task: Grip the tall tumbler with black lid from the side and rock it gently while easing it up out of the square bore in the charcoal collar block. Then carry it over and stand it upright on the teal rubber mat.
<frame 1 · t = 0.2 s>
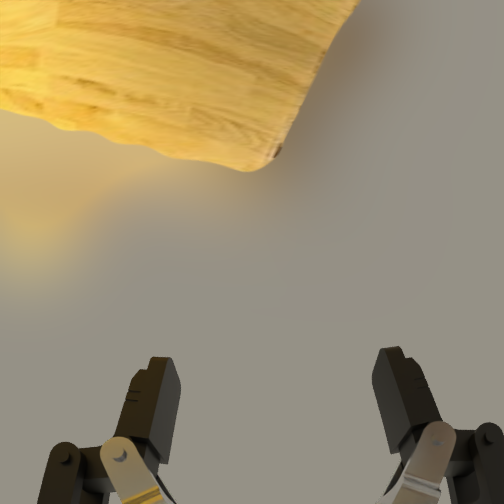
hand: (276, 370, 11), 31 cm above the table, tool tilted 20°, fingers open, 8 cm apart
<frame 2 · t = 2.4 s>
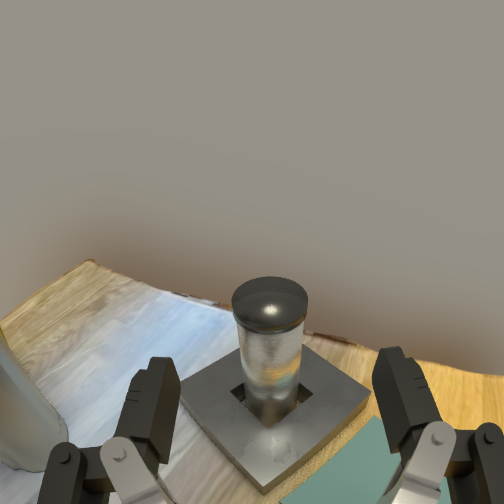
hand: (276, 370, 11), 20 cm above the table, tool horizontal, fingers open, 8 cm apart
rubber mat: (382, 496, 20), on the table
collar block: (271, 408, 30), on the table
tumbler with black lid: (271, 408, 30), resting in collar block
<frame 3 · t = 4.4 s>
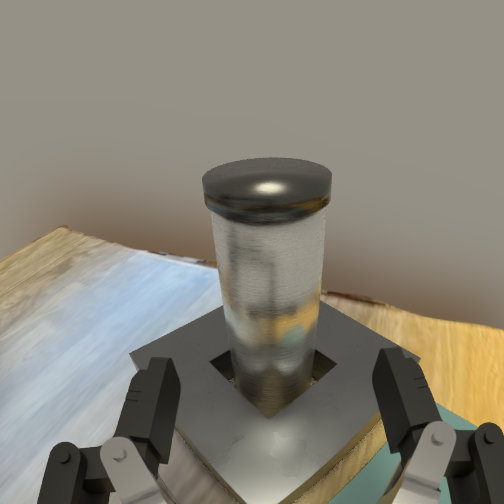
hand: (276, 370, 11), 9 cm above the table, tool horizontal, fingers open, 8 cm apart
collar block: (273, 390, 21), on the table
tumbler with black lid: (273, 391, 21), resting in collar block
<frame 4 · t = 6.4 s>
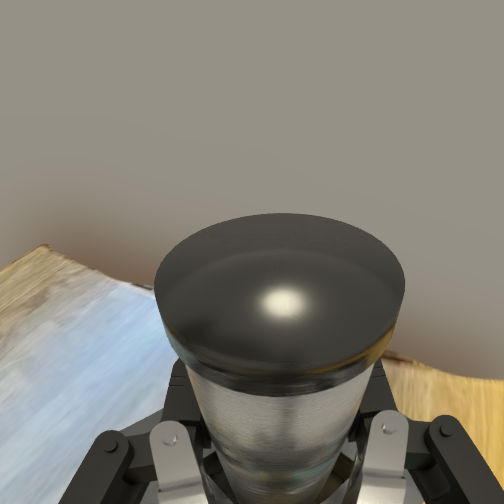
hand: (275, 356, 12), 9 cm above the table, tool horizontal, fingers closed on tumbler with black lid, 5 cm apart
collar block: (278, 484, 14), on the table
tumbler with black lid: (277, 484, 14), resting in collar block, touching gripper
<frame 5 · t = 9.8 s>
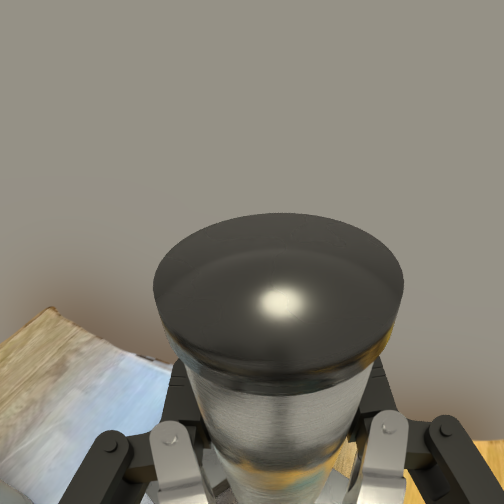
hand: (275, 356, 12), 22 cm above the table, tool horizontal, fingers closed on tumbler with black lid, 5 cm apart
tumbler with black lid: (277, 484, 14), point 13 cm above the table, touching gripper
when the fingers open (11 cm above the table, at t = 13.3 s): tumbler with black lid drops 1 cm, resting on rubber mat.
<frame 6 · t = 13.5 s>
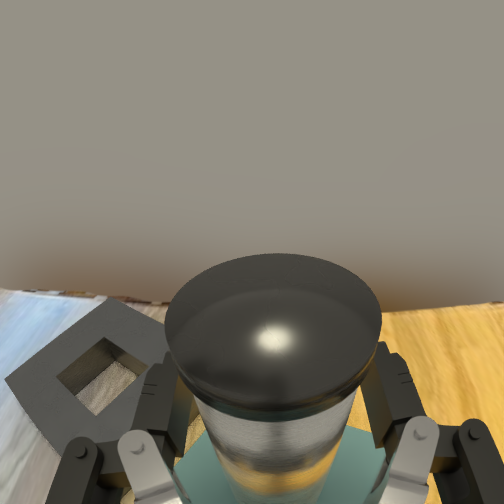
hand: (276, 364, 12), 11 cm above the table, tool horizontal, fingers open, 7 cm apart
rubber mat: (276, 493, 15), on the table
collar block: (113, 395, 22), on the table
tumbler with black lid: (277, 492, 15), point 1 cm above the table, touching rubber mat
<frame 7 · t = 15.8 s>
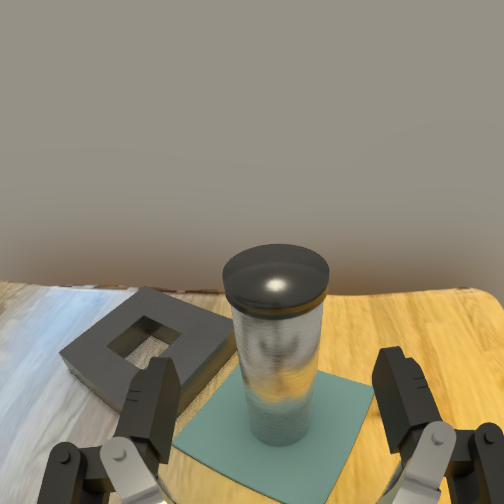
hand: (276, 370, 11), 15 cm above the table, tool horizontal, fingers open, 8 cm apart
rubber mat: (279, 423, 24), on the table
collar block: (151, 360, 31), on the table
tumbler with black lid: (280, 421, 23), point 1 cm above the table, touching rubber mat
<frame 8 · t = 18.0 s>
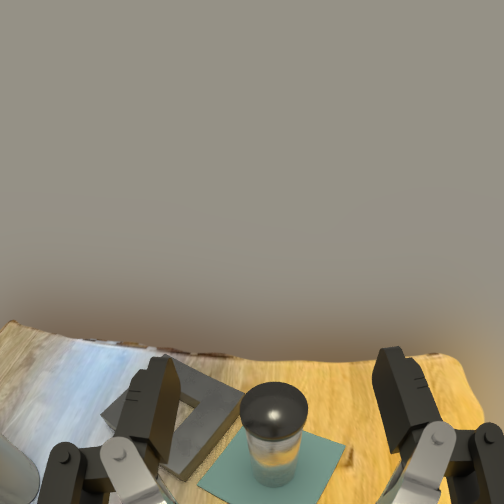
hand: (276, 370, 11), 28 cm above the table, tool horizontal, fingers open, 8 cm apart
rubber mat: (273, 470, 31), on the table
collar block: (175, 418, 38), on the table
tumbler with black lid: (274, 469, 30), resting on rubber mat
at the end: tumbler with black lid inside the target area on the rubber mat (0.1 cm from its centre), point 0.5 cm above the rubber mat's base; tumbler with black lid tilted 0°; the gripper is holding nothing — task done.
